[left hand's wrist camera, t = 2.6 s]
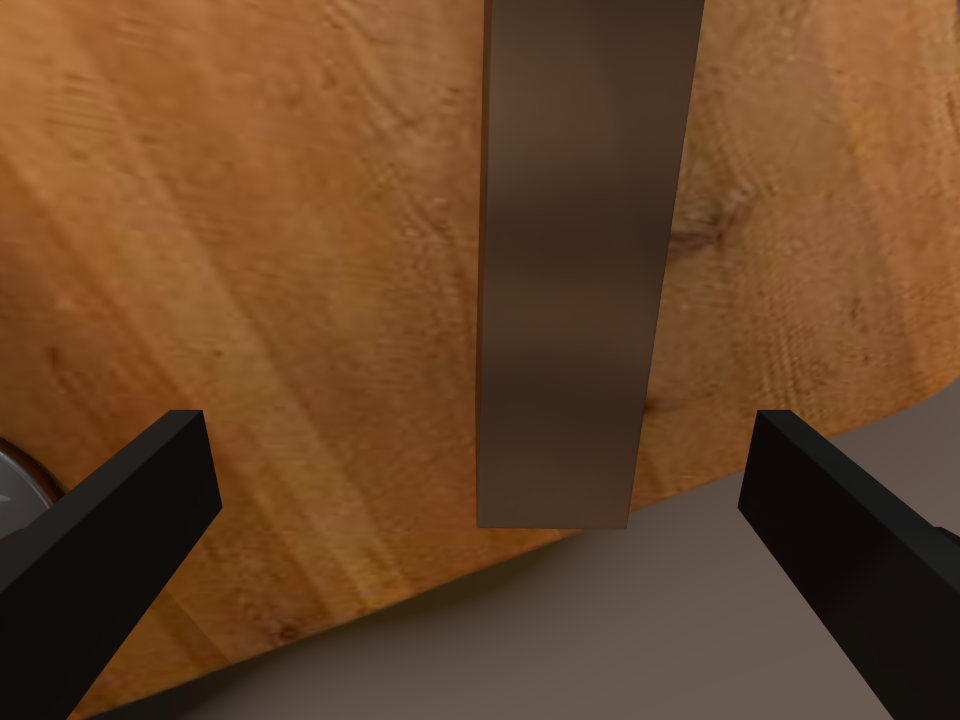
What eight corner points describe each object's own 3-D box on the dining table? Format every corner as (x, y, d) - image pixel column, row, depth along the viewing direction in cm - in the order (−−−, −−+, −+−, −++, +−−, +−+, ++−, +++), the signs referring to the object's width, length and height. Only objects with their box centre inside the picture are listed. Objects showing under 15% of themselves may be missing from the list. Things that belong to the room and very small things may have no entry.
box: (574, 405, 32) (626, 530, 21) (475, 403, 32) (476, 528, 21) (618, -44, 24) (737, -209, 13) (485, -49, 24) (496, -218, 13)
